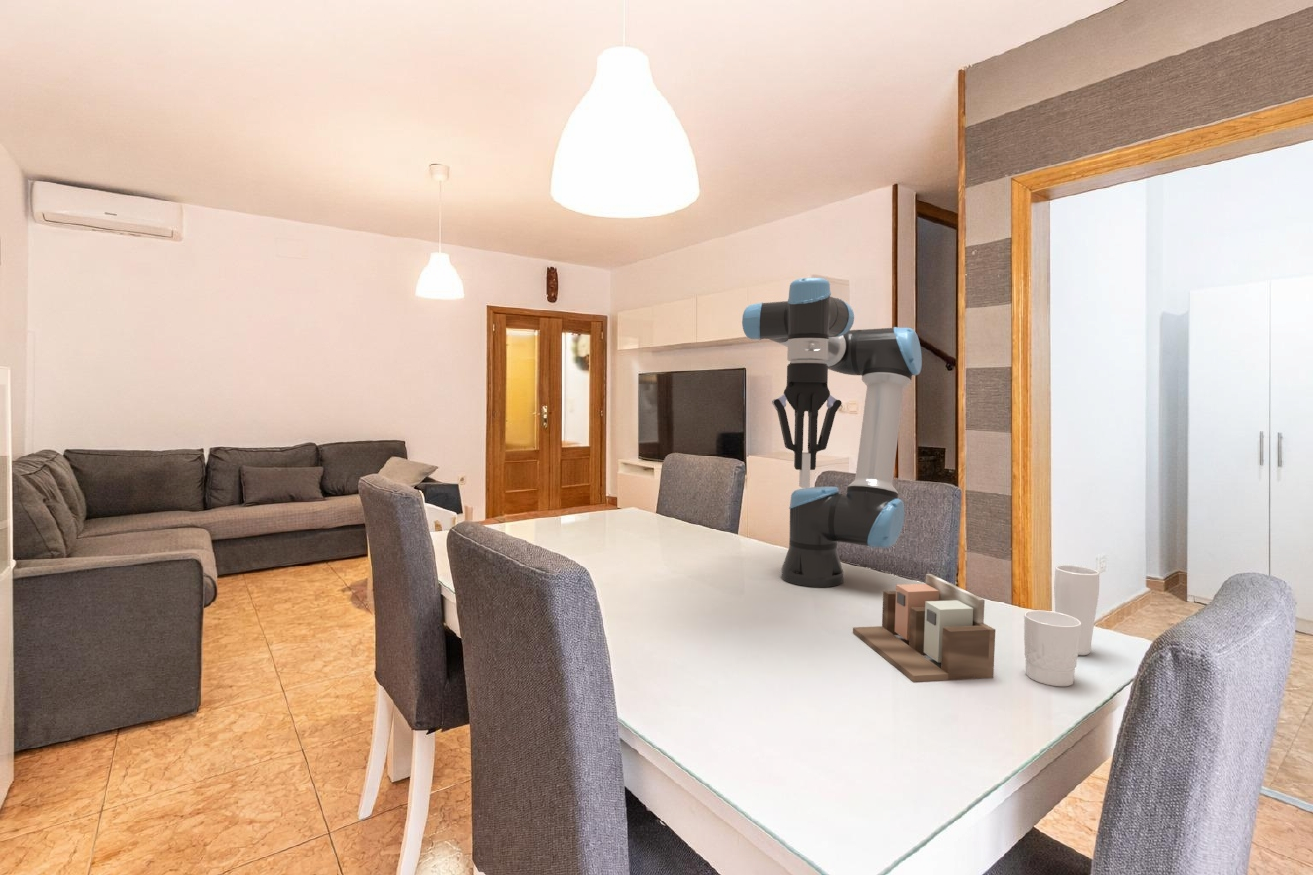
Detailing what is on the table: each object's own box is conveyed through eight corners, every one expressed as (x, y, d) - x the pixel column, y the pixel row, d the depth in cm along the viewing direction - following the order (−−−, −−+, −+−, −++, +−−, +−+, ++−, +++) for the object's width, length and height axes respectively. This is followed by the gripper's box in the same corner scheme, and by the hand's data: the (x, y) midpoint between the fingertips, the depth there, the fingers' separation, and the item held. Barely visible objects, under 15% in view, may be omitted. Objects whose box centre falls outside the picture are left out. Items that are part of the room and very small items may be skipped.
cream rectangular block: (922, 652, 112) (923, 601, 112) (955, 650, 113) (957, 600, 113) (936, 662, 108) (938, 609, 107) (971, 660, 109) (973, 608, 108)
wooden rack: (852, 632, 125) (854, 571, 124) (920, 629, 127) (922, 569, 126) (913, 681, 103) (916, 608, 103) (993, 677, 105) (996, 605, 105)
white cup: (1086, 690, 101) (1090, 628, 100) (1031, 685, 102) (1034, 624, 102) (1065, 670, 109) (1068, 612, 108) (1014, 665, 110) (1017, 608, 110)
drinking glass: (1056, 640, 122) (1060, 562, 121) (1099, 651, 117) (1103, 569, 116) (1046, 650, 117) (1050, 569, 116) (1090, 661, 112) (1094, 576, 111)
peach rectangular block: (893, 631, 122) (894, 584, 122) (924, 630, 123) (925, 583, 123) (905, 640, 118) (906, 591, 117) (937, 638, 119) (939, 590, 118)
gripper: (775, 361, 118) (772, 489, 119) (847, 361, 118) (843, 490, 119) (769, 363, 125) (767, 483, 127) (837, 364, 125) (834, 484, 126)
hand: (804, 486), depth 123 cm, fingers closed
